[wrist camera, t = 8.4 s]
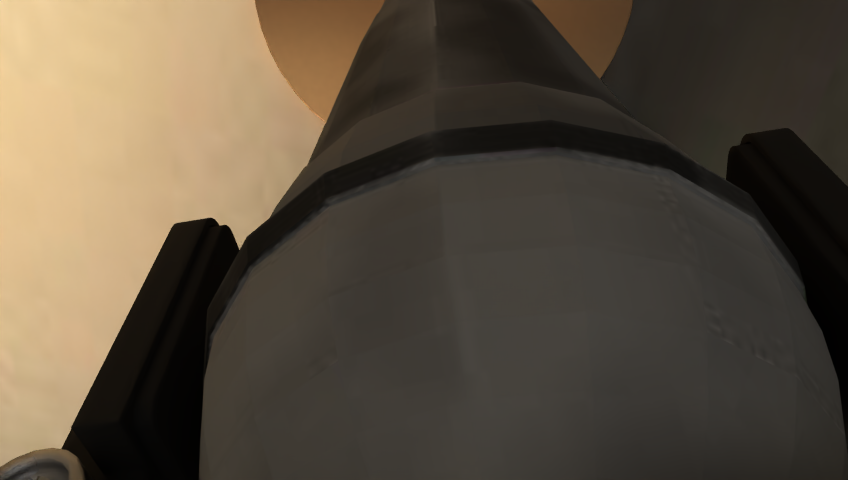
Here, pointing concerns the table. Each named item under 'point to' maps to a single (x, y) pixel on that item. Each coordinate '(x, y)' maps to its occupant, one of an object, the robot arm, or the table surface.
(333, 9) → the disc
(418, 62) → the beverage cup
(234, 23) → the table surface
